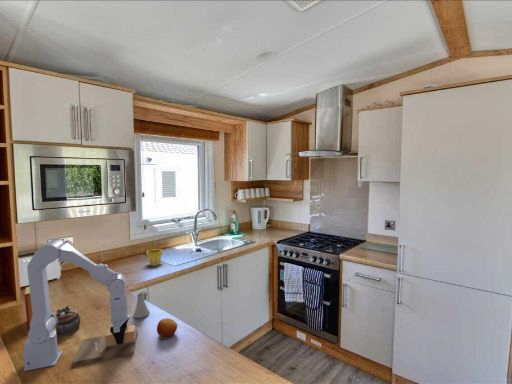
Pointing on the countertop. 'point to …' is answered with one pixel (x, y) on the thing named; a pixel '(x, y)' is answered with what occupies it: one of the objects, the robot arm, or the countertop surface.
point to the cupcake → (67, 321)
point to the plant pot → (154, 256)
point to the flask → (141, 307)
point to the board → (100, 351)
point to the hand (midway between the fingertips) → (121, 339)
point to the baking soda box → (28, 306)
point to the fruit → (166, 328)
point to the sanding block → (128, 337)
